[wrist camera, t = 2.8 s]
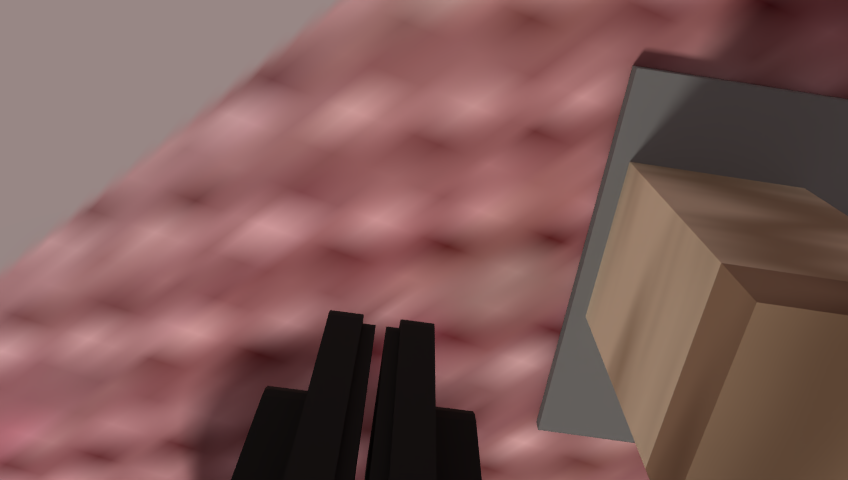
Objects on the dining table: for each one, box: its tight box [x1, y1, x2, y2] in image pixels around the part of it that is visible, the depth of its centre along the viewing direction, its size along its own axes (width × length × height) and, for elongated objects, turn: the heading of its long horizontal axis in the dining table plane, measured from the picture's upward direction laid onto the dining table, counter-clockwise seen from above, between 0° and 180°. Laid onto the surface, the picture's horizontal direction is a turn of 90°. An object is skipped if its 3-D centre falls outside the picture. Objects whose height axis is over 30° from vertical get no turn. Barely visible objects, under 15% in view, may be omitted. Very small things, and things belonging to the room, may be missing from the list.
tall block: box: [586, 162, 848, 480], centre depth 15 cm, size 5×5×8 cm
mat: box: [537, 66, 848, 443], centre depth 20 cm, size 14×12×1 cm
